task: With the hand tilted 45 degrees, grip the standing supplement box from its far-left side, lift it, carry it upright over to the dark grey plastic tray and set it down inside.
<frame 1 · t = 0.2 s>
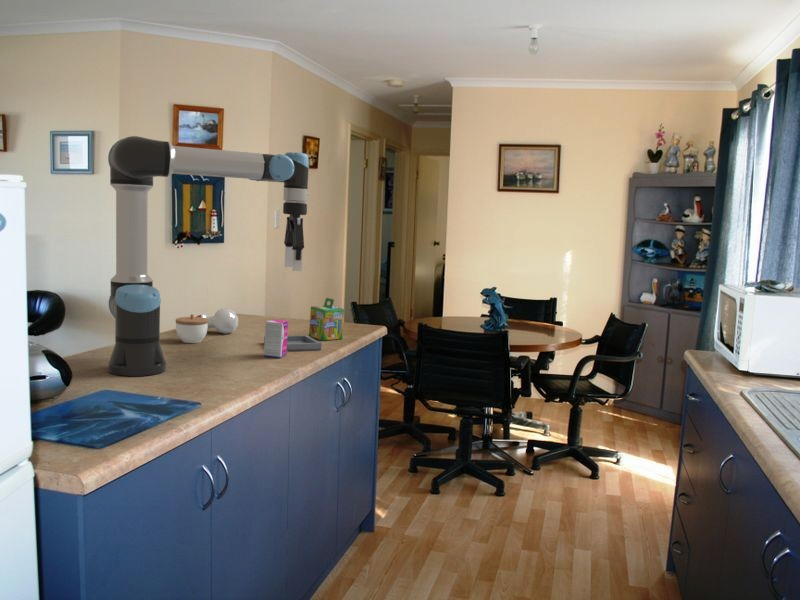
hand: (292, 268, 235), 28 cm above the worktop, tool pointing down, fingers open, 13 cm apart
supplement box: (275, 356, 233), on the worktop
tray: (292, 346, 250), on the worktop
lidded jar: (191, 342, 250), on the worktop
chalk box: (325, 338, 269), on the worktop
potion bottle: (217, 333, 269), on the worktop
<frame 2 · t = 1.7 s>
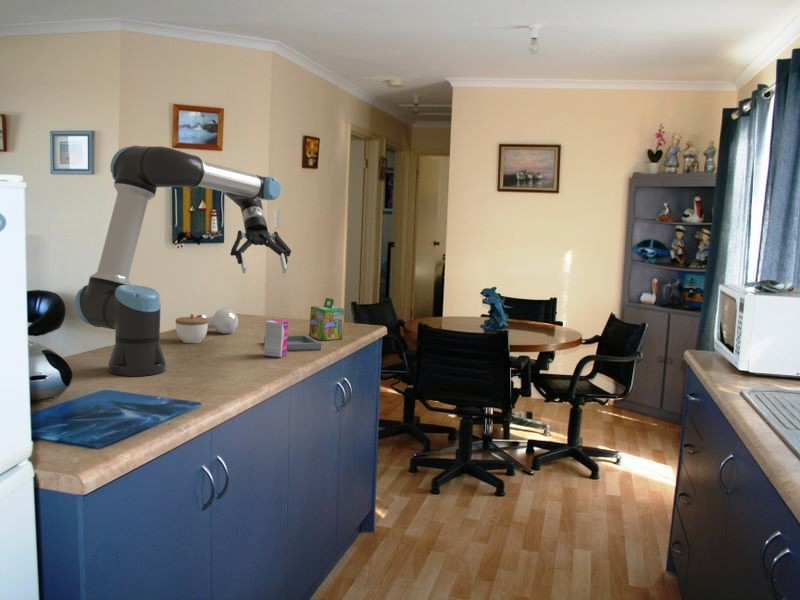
hand: (265, 270, 240), 26 cm above the worktop, tool tilted 45°, fingers open, 13 cm apart
nothing on the worktop moved.
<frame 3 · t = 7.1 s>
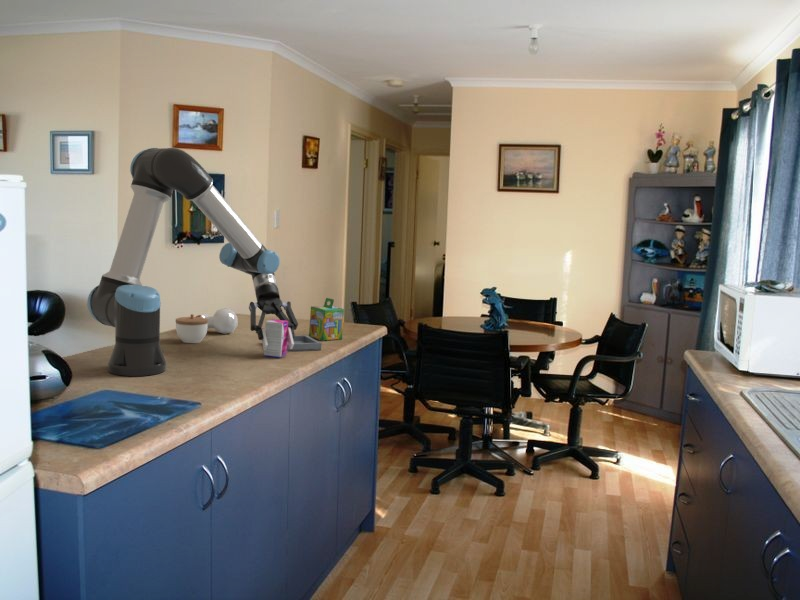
hand: (279, 346, 230), 4 cm above the worktop, tool tilted 45°, fingers closed on supplement box, 8 cm apart
supplement box: (275, 356, 233), on the worktop, touching gripper
everything else where it was.
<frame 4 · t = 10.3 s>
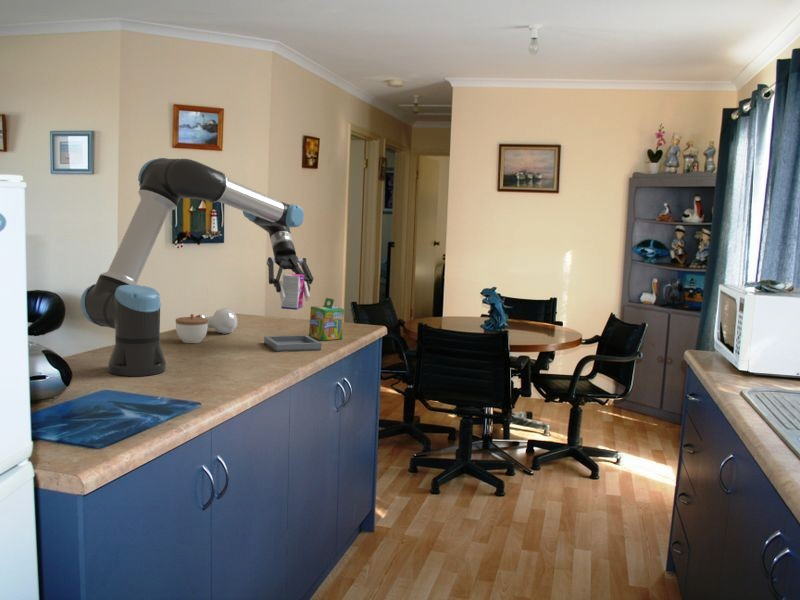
hand: (295, 298, 244), 17 cm above the worktop, tool tilted 45°, fingers closed on supplement box, 8 cm apart
supplement box: (292, 308, 247), point 13 cm above the worktop, touching gripper
everything else where it was.
when the fingers open (6 cm above the worktop, at t = 13.6 s): supplement box drops 1 cm, resting on tray.
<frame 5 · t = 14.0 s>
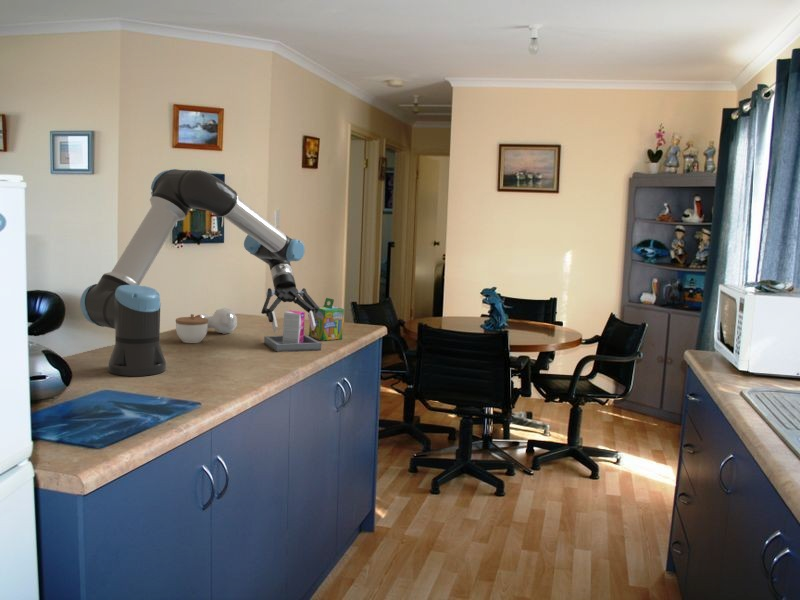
hand: (295, 328, 247), 7 cm above the worktop, tool tilted 45°, fingers open, 13 cm apart
supplement box: (292, 345, 250), resting on tray
everything else where it was.
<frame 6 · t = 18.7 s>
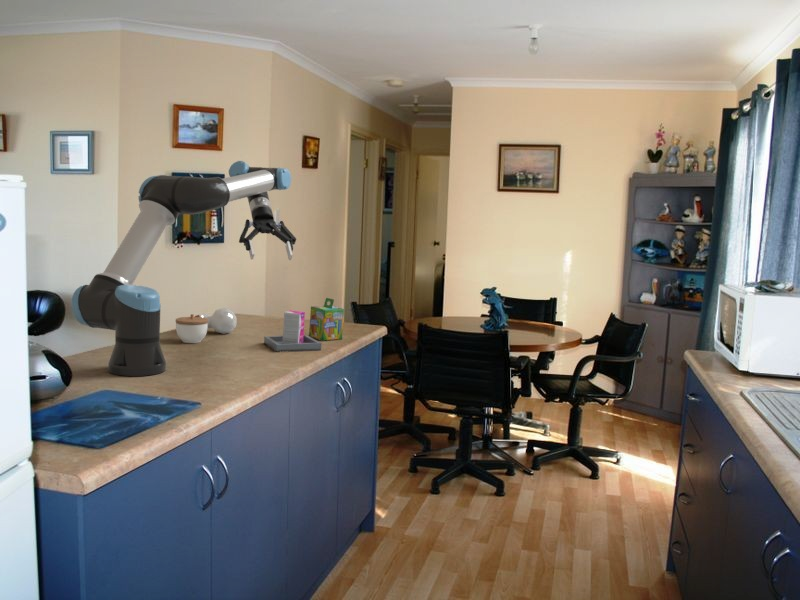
hand: (271, 257, 254), 30 cm above the worktop, tool tilted 45°, fingers open, 13 cm apart
nothing on the worktop moved.
at the end: supplement box inside the target area on the tray (0.3 cm from its centre), point 0.4 cm above the tray's base; supplement box tilted 0°; the gripper is holding nothing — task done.
